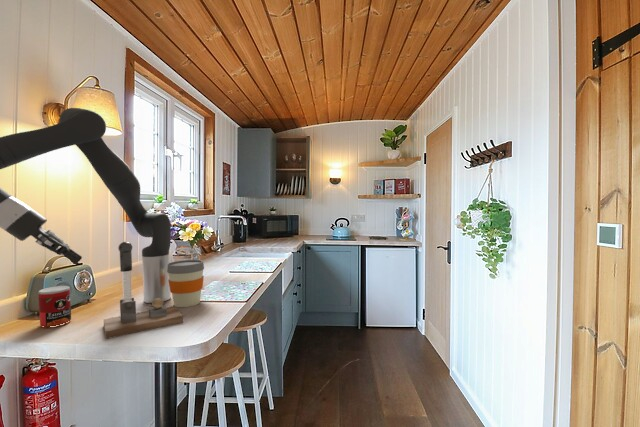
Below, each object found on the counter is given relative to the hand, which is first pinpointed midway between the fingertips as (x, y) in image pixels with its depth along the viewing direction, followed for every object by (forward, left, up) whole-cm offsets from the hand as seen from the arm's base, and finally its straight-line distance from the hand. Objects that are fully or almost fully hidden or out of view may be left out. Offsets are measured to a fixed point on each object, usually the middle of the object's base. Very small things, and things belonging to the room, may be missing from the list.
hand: (79, 260), depth 92 cm
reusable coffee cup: (-14, +31, -22) cm, 40 cm away
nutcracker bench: (0, +15, -21) cm, 26 cm away
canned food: (-18, -7, -22) cm, 29 cm away
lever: (0, +11, -16) cm, 19 cm away
